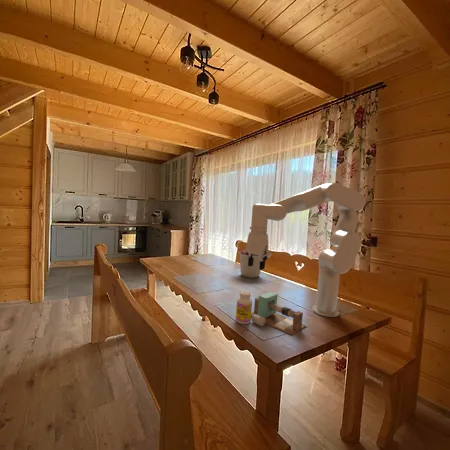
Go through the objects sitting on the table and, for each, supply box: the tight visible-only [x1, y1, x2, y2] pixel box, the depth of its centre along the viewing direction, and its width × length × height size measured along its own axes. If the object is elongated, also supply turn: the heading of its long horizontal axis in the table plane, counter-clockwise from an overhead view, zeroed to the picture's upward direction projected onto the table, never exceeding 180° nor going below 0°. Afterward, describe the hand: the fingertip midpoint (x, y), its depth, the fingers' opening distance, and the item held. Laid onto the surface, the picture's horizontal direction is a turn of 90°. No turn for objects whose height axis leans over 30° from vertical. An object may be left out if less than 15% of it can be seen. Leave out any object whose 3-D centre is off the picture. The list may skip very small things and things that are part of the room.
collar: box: [258, 291, 279, 318], centre depth 119 cm, size 9×4×9 cm, turn 135°
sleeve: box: [251, 314, 267, 327], centre depth 112 cm, size 4×5×4 cm
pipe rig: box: [251, 296, 307, 336], centre depth 116 cm, size 12×23×8 cm, turn 45°
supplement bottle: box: [235, 290, 253, 325], centre depth 113 cm, size 7×7×13 cm
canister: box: [238, 249, 262, 279], centre depth 185 cm, size 18×18×21 cm
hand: (256, 267), depth 123 cm, fingers open, 6 cm apart
